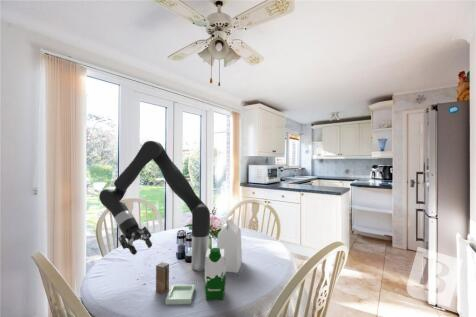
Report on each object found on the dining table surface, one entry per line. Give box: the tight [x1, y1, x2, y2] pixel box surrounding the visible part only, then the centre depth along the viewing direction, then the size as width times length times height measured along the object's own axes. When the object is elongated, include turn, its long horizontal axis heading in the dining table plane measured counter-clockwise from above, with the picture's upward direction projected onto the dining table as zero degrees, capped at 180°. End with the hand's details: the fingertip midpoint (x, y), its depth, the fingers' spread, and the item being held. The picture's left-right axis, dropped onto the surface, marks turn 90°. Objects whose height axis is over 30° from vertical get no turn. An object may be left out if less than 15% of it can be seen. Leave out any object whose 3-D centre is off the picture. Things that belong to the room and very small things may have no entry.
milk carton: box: [204, 247, 227, 301], centre depth 92 cm, size 9×9×20 cm
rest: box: [165, 284, 196, 305], centre depth 91 cm, size 10×10×2 cm
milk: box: [216, 216, 243, 274], centre depth 117 cm, size 12×12×26 cm
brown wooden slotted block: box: [155, 261, 170, 295], centre depth 95 cm, size 4×4×11 cm
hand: (143, 250), depth 100 cm, fingers open, 8 cm apart
